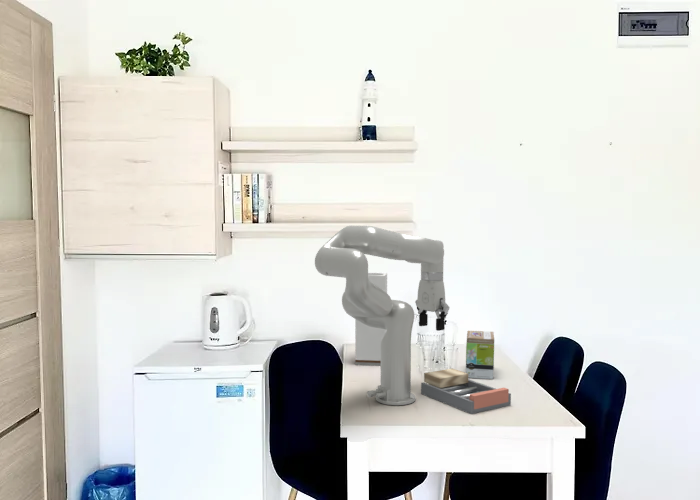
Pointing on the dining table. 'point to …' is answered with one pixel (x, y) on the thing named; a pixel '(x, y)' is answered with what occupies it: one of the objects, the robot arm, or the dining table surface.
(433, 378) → the oak slab
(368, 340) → the tall white box
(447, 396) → the roller track
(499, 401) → the end stop
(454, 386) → the rollers
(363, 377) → the dining table surface
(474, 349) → the tea box
